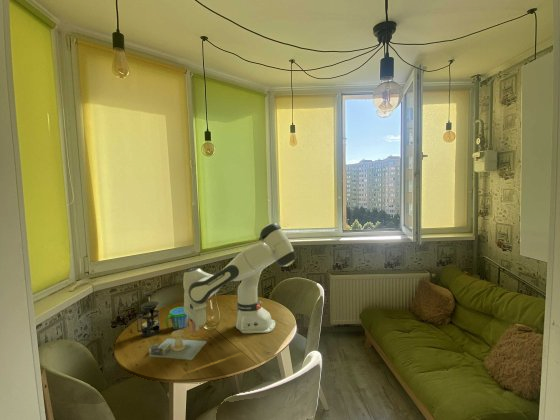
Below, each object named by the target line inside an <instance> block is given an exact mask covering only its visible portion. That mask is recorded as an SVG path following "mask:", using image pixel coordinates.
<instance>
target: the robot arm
mask: <svg viewBox="0 0 560 420" xmlns="http://www.w3.org/2000/svg"><path fill="white" fill-rule="evenodd" d="M259 235H260V236H259V237H258V241H260V242H256V243H254V244H252V245H250V246H249V247H246V248H245V249H244V250H242V251H241V252H239V253H238V254H237V255H236V256H235V257H233V259H232V260H231V261H230V262H228V264H227V265H226V266H224V267H223V268H222V269H221V270H220V271H218V272H217V273H215V274H211V273H208V272H206V271H204V270H202V269H201V268H200V267H191V268H189V269H187V270H185V271H184V273H183V281H182V282H183V283H182V284H183V290H184V294H183V307H184V312H185V314H186V315H187V316H188V320H190V319H191V320H192V321H194V322H195V326H194V328H195V330H199V326H200V327H201V326H204V325H205V324H206V322H207V321H206V320H207V310H206V307H207V303H206V302H207V300H209V299H210V298H211V297H212V296H213V295H215V294H216V293H217V292H218V291H219V290H220V289H221V288H222V287H223V286H225V285H227V284H229V283H230V282H232V281H233V282H240V281H241V282H240V284H239V285H238V287H237V301H236V309H237V319H236V324H235V328H236V330H238V331H240V333H242V334H255V333H256V334H261V333H263V334H264V333H266V334H267V333H271V332H272V331H273V330H274V329H275V327H276V320H274V319H272V316H271V314H270V312H269V311H267V310H266V309H265V308H264V307H262V300H260V301H259V299H258V286H259V281H260V277H261V274H262V271H264V269H266V268H267V267H269V266H270V265H272V264H274V263H276V264H277V265H278V267H282V268H283V267H289V266H290V265H292V264H293V263H294V261H296V259H297V254H296V251H295V250H294V247H293V245H292V243H291V241H290V239H289V238H288V236H287V235H286V234H285V231H283V230H282V227H281V225H279V224H278V223H277V222H273V223H268V224H267V225H264V227H263V228H262V229H261V231H260V234H259Z"/></svg>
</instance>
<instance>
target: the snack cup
mask: <svg viewBox="0 0 560 420" xmlns="http://www.w3.org/2000/svg"><path fill="white" fill-rule="evenodd" d="M168 313H169V314H168V315H167V316H166V319H165V326H166V327H167V328H169V327H170V325H169V319H170V321H171V325H172V328H173V331H176V330H184V329H186V328H187V327H188V324H189V317H188V316H187V315H186V314H185V312H184V306H178V307H174V308H172V309H170V311H169V312H168Z"/></svg>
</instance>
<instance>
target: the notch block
mask: <svg viewBox="0 0 560 420" xmlns="http://www.w3.org/2000/svg"><path fill="white" fill-rule="evenodd" d="M158 346H159V345H158V342H155V343H154V344H152V345H151V346H150V347H149V348H148V352H149V353H148V355H159V356H165V355H166V354H167V353H168V352H169V351H170V350H171V344H168V345H167V346H166V347H165V348H164V349H158Z"/></svg>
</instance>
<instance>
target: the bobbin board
mask: <svg viewBox="0 0 560 420" xmlns="http://www.w3.org/2000/svg"><path fill="white" fill-rule="evenodd" d="M185 333H186V332H185V330H184V329H179V330H173V331H172V332H171V337H172V338H168V337H167V338H166V339H165V340H164V341H163V342H162V343H161V344H159V345H158V349H164V348H165V347H166V346H167V345H168V344H171V350H170V351H169V352H168V353H167V354H166V355H165V356H159V355H149V354H148V355H147V356H148V357H154V358H155V357H156V358H165V359H166V358H167V359H168V358H170V359H176V360H178V359H179V360H188V361H192V360H193V359H194V358H195V357H196V356H197V354H199V352H200V351H201V350H202V349H203V347H204V346H205V345H206V344H207V343H208V341H205V340H193V339H184V338H183V336H184V335H185Z"/></svg>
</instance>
